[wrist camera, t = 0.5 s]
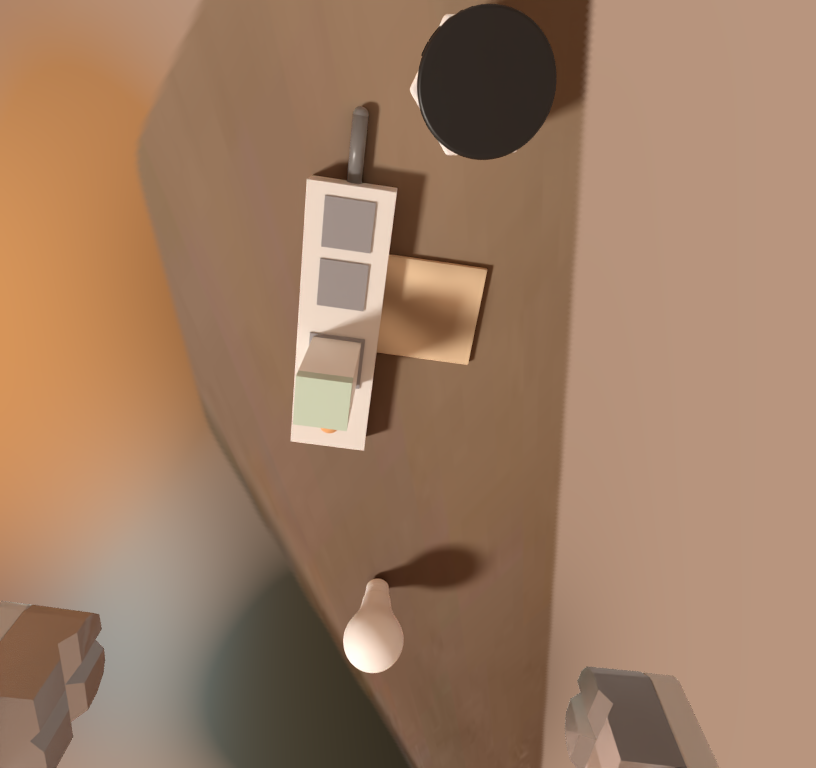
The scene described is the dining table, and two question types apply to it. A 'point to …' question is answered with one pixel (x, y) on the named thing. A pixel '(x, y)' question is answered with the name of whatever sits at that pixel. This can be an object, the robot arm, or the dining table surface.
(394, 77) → the dining table surface
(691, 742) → the robot arm
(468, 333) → the coaster
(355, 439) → the power strip
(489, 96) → the jar
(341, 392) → the block
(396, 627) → the lightbulb
